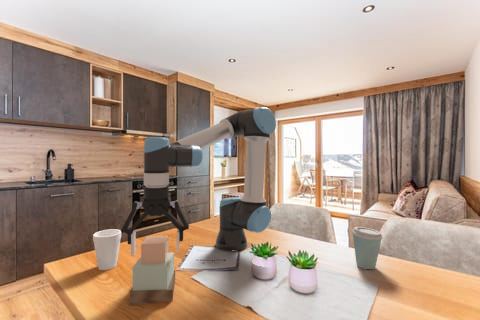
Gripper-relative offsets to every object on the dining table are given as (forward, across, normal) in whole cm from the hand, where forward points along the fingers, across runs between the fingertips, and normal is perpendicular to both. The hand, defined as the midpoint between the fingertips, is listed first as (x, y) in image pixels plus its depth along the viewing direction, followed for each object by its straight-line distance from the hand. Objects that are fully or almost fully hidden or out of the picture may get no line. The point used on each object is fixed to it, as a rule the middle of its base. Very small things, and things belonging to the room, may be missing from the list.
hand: (156, 252), depth 76 cm
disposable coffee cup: (+12, -79, -3) cm, 80 cm away
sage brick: (+9, 0, +1) cm, 9 cm away
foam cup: (+12, +21, -21) cm, 32 cm away
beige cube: (+2, 0, 0) cm, 2 cm away
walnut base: (+13, 0, 0) cm, 13 cm away
